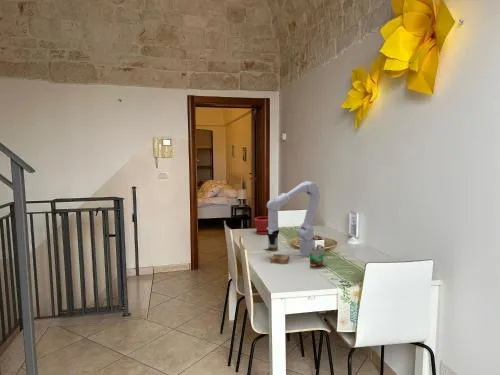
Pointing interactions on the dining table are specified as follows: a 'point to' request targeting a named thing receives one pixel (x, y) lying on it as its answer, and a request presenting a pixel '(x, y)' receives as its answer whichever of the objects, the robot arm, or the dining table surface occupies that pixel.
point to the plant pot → (261, 225)
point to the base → (280, 259)
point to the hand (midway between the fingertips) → (273, 243)
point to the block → (274, 244)
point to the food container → (316, 256)
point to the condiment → (271, 248)
